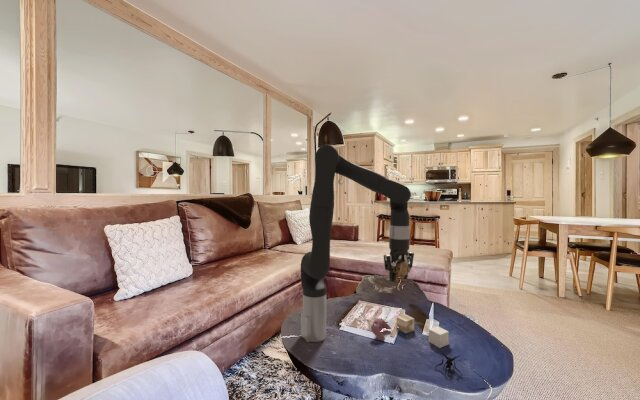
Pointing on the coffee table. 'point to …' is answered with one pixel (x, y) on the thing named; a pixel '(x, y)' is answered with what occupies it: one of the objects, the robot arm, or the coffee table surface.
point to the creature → (449, 364)
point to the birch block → (405, 323)
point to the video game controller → (379, 328)
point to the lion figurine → (401, 271)
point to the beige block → (438, 336)
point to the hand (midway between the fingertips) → (398, 280)
